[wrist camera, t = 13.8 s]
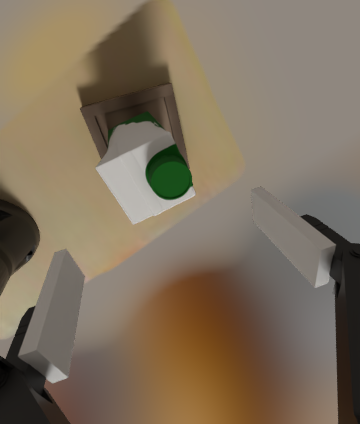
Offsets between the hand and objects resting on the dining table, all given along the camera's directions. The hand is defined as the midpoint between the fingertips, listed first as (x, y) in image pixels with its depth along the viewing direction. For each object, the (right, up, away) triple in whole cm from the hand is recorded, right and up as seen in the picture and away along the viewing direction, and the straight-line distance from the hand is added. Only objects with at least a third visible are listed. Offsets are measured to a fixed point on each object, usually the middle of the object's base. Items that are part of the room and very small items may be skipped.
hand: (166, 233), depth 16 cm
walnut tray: (-6, +14, +24) cm, 28 cm away
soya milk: (-6, +14, +23) cm, 27 cm away
